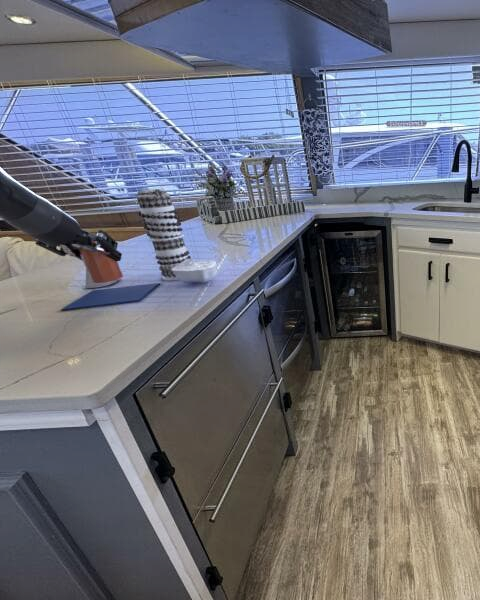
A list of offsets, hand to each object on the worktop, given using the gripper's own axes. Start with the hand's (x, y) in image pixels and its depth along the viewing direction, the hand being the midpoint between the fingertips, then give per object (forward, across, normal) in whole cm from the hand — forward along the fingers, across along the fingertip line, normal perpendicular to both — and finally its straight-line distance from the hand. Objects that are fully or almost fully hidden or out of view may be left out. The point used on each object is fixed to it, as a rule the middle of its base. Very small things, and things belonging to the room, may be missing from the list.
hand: (105, 259), depth 81 cm
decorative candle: (+16, -9, -2) cm, 18 cm away
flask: (+14, +11, 0) cm, 18 cm away
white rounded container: (+11, -18, +3) cm, 21 cm away
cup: (+2, 0, +5) cm, 5 cm away
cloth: (+6, 0, +8) cm, 10 cm away
